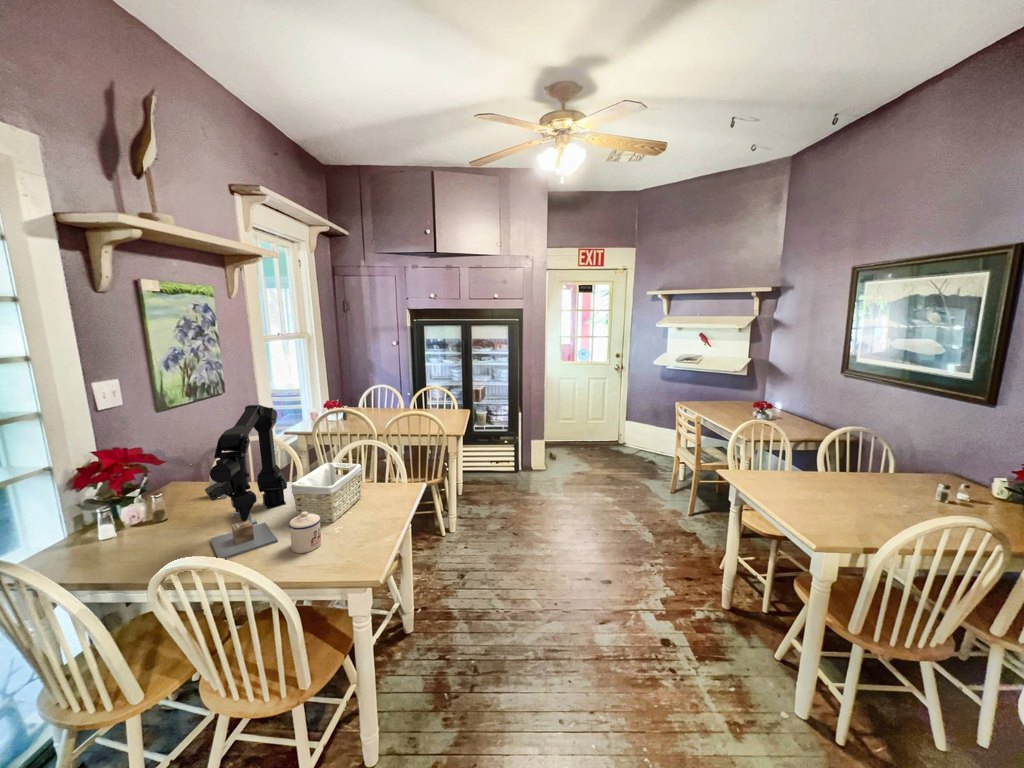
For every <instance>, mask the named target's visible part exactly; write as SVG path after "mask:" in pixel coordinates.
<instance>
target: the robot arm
mask: <svg viewBox="0 0 1024 768" xmlns="http://www.w3.org/2000/svg"><path fill="white" fill-rule="evenodd" d="M277 418H278V411H277V410H276V409H274V408H273V407H267V406H264V405H261V404H248V405H246V406H245V407H244V411H243V412H242V414H241V416H239V418H238V420H237V421H236V423H235V424H234V426H233V427H231V428H229V429H226V430H225V431H224V432H222V434H221V435H220V437H218V440H217V444H216V447H215V453H214V456H213V457H214V459H217V460H215V464H214V465H213V466H212V467H211V469H210V470H209V476H210V477H211V479H212V480H213V481H215V482H217V483H215V484H213V485H211V486H209V485H208V487H206V488H205V489H204V492H205V493H206V495H207V496H208V498H209V499H210V501H212V502H213V501H215V500H217V499H219V498H218V497H220V496H222V495H224V494H225V495H227V496H229V497H228V498H230V502H231V506H232V508H234V510H235V513H236V512H239V514H240V516H239V518H240V519H241V522H245V521H247V518H248V516H249V514H250V513H251V512H252V509H253V507H254V505H255V503H256V502H257V500H258V498H257V495H256V494H255V492H253V490H251V485H250V484H249V477H250V473H249V472H248V463H247V455H246V454H247V453H248V449H249V445H250V442H251V439H250V437H249V435H250V433H251V431H252V430H253V429H254V430H255V431H256V432H257V435H258V445H259V453H260V454H259V455H260V461H261V470H260V471H259V473H258V474H257V479H256V481H257V482H256V485H257V488H258V491H259V493H263V494H262V504H263V506H265V507H266V509H271V508H272V509H273V508H275V507H280V506H283V505H286V503H287V502H286V500H285V495H284V494H285V493H284V492H285V491H284V490H286V489H288V480H287V479H286V478H285V476H284V475H283V472H282V469H281V468H280V467H279V466H278V465H277V460H276V453H275V443H274V442H275V441H274V433H273V431H274V430H273V428H274V427H275V425H276V423H277Z"/></svg>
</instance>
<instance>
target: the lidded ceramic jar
mask: <svg viewBox="0 0 1024 768" xmlns="http://www.w3.org/2000/svg"><path fill="white" fill-rule="evenodd" d="M320 520H321V518H320V516H319V515H317V514H309V513H308V512H306V511H305V512H302V513H301V515H300V516H298V515H297V516H295V517H293V518H292V519H291V520H290V521H289V524H288V526H289V530H290V543H291V544H290V545H291V551H292V552H294V553H296V554H305V553H310V552H312V551H315V550H317V549H318V548H320V546H321V544H322V533H321V532H322V531H321V522H320Z"/></svg>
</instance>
